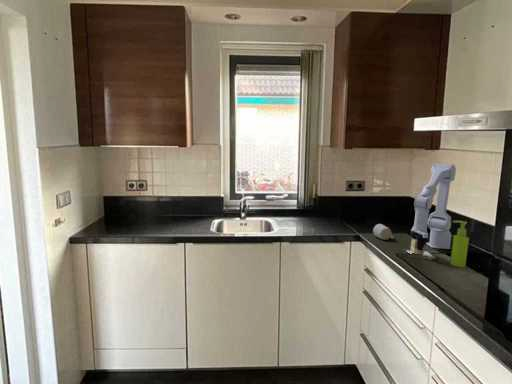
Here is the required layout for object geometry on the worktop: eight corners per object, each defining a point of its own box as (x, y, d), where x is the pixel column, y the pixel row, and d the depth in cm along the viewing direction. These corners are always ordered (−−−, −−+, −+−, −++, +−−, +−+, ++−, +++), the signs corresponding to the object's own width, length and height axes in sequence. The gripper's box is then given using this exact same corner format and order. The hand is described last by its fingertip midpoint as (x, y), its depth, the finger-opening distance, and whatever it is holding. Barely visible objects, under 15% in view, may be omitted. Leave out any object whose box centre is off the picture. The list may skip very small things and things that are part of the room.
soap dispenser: (448, 261, 157) (454, 219, 154) (466, 264, 153) (471, 221, 150) (446, 264, 153) (451, 221, 150) (464, 268, 148) (469, 223, 145)
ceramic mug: (380, 240, 187) (381, 227, 186) (372, 236, 195) (373, 223, 194) (397, 240, 189) (398, 227, 188) (388, 236, 197) (389, 223, 196)
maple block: (419, 251, 167) (421, 239, 166) (423, 254, 162) (424, 241, 161) (410, 250, 167) (411, 238, 166) (413, 253, 163) (415, 241, 162)
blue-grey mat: (427, 251, 170) (427, 251, 170) (437, 259, 158) (437, 259, 158) (398, 250, 171) (398, 249, 171) (406, 257, 159) (406, 257, 159)
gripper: (407, 217, 170) (404, 243, 172) (418, 224, 155) (415, 252, 157) (421, 218, 169) (418, 244, 171) (434, 225, 155) (430, 253, 157)
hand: (418, 248), depth 164 cm, fingers closed on maple block, 4 cm apart
